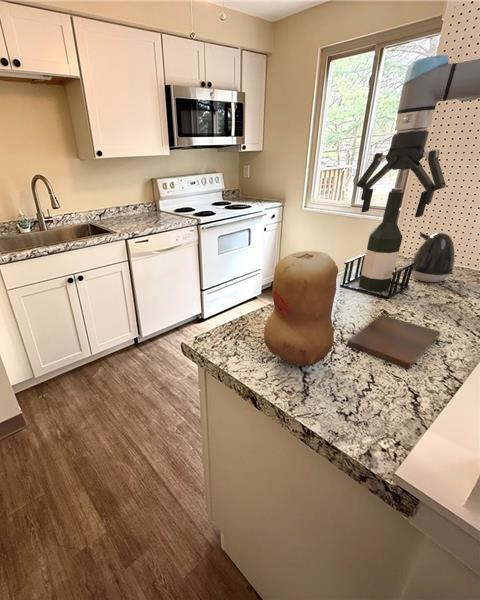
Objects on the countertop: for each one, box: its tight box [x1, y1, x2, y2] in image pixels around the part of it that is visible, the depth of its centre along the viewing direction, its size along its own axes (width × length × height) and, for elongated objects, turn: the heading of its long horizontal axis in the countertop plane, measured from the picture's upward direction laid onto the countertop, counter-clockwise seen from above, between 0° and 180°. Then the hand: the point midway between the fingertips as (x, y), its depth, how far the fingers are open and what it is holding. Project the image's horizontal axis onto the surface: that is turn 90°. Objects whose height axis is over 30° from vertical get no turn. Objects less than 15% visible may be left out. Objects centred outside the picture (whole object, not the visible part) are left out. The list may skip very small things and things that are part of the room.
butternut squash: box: [263, 250, 339, 367], centre depth 65 cm, size 14×13×25 cm
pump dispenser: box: [410, 232, 456, 283], centre depth 97 cm, size 10×10×15 cm
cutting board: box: [346, 314, 442, 370], centre depth 72 cm, size 18×12×2 cm, turn 125°
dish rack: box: [339, 253, 416, 300], centre depth 98 cm, size 14×14×8 cm
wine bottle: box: [358, 187, 405, 293], centre depth 93 cm, size 8×8×30 cm
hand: (390, 213), depth 90 cm, fingers open, 13 cm apart
